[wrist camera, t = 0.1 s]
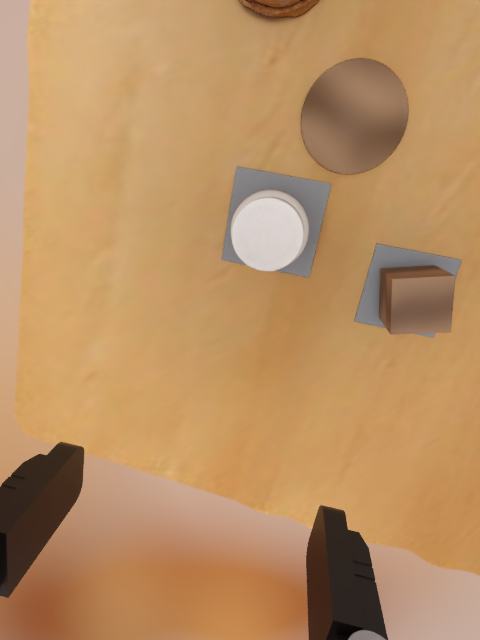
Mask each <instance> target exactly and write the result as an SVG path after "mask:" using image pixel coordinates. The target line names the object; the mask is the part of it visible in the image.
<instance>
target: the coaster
mask: <svg viewBox="0 0 480 640" xmlns="http://www.w3.org/2000/svg"><path fill="white" fill-rule="evenodd" d="M407 121H408V99H407V95H406V91H405V89H404V86H403V84H402V82H401V81H400V79H399V78H398V76H397V75H396V74H395V73H394V72H393V71H392V70H391V69H390V68H389V67H387V66H386V65H384V64H382V63H380V62H378V61H375V60H371V59H364V58H358V59H350V60H346V61H343V62H340V63H338V64H336V65H334V66H333V67H331V68H330V69H328V70H327V71H326V72H324V73H323V74H322V75H321V76H320V77H319V78H318V79H317V81H316V82H315V83H314V85H313V86H312V87H311V89H310V91H309V93H308V95H307V97H306V100H305V102H304V106H303V110H302V116H301V130H302V136H303V140H304V143H305V146H306V148H307V150H308V152H309V153H310V155H311V156H312V157H313V158H314V160H315V161H316V162H317V163H319V164H320V165H321V166H322V167H324V168H326V169H328V170H330V171H332V172H336V173H339V174H356V173H361V172H364V171H368V170H370V169H372V168H374V167H376V166H377V165H379V164H381V163H382V162H383V161H384V160H386V159H387V158H388V157H389V156H390V155H391V154H392V153H393V151H394V150H395V149H396V147H397V146H398V144H399V143H400V141H401V139H402V137H403V135H404V132H405V129H406V125H407Z"/></svg>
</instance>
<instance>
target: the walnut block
mask: <svg viewBox="0 0 480 640" xmlns="http://www.w3.org/2000/svg"><path fill="white" fill-rule="evenodd" d="M454 286H455V275H453V274H451V273H449V272H447V271H445V270H443V269H441V268H439V267H437V266H435V265H430V266H413V267H396V268H380V292H379V318H380V320H381V321H382V323H383V324H384V326H385V327H386V329H387V330H388V332H389V333H390V334H419V333H449V332H451V323H452V311H453V298H454Z"/></svg>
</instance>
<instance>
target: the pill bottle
mask: <svg viewBox="0 0 480 640" xmlns="http://www.w3.org/2000/svg"><path fill="white" fill-rule="evenodd" d="M308 235H309V222H308V218H307V215H306V213H305V211H304V208H303V207H302V206H301V204H300V203H299V202H298V201H297V200H296V199H295V198H294V197H293V196H291V195H289V194H287V193H285V192H282V191H278V190H263V191H258V192H256V193H254V194H252V195H250V196H249V197H247V198H246V199H245V200H244V201H243V202H242V203H241V204H240V205H239V207H238V208H237V210H236V211H235V213H234V216H233V218H232V222H231V239H232V244H233V247H234V250H235V252H236V254H237V255H238V257H239V258H240V259H241V260H242V261H243V262H244V263H245V264H246V265H248V266H249V267H251V268H253V269H256V270H260V271H275V270H279V269H281V268H283V267H285V266H287V265H289V264H290V263H292V262H293V261H294V260H296V259H297V258H298V257H299V255H300V254H301V253H302V251H303V250H304V248H305V246H306V243H307V240H308Z"/></svg>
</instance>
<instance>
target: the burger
mask: <svg viewBox="0 0 480 640" xmlns="http://www.w3.org/2000/svg"><path fill="white" fill-rule="evenodd" d="M239 1H240V2H241V3H242V4H243V5H244V6H246V7H249V8H251V9H252V10H254V11H255V12H256V13H261V14H262V15H264V16H273V17H286V16H292V17H295V16H299V15H302V14H304V13H305V12H306V11H308V10H309V9H310V8H311V7H312V6H313V5H314V4H315V3H317V1H318V0H239Z"/></svg>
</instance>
